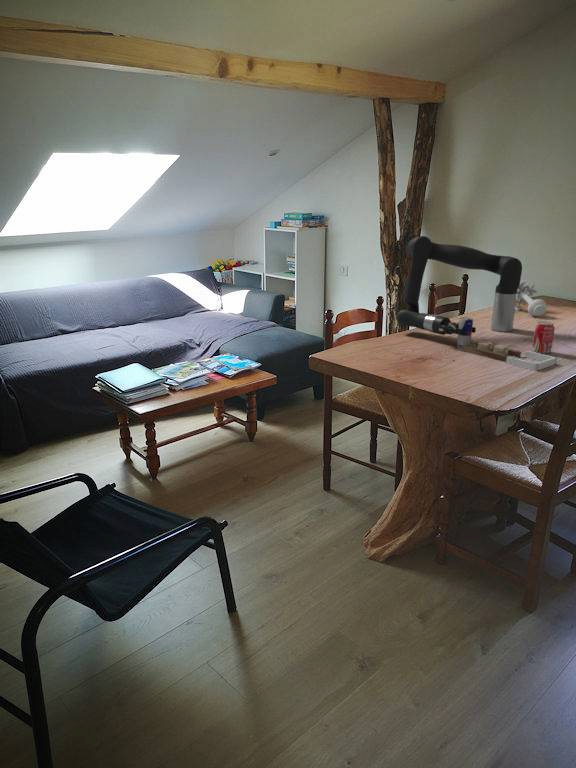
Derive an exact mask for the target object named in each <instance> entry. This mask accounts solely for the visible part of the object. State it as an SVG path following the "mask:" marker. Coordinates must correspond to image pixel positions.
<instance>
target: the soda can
mask: <svg viewBox="0 0 576 768" xmlns="http://www.w3.org/2000/svg"><path fill="white" fill-rule="evenodd" d="M533 334H534V335H533V340H532V352H534V351H535V352H536V353H542V354H544V355H546V354H545V353H547V354H549V353H551V352H552V347H553V343H554V342H553V341H554V335H555V326H554V322H551V321H543V320H542V321H538V322H537V324H536V326H535V329H534V333H533Z"/></svg>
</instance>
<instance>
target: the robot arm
mask: <svg viewBox="0 0 576 768" xmlns="http://www.w3.org/2000/svg"><path fill="white" fill-rule="evenodd" d="M406 248H407V249H406V250H407V253H408V254H409V255H410V256H411V257H412V258H411V259H412V261H411V267H410V270H409V274H408V277H407V279H406V282H405V285H404V291H403V296H402V302H403V304H405V305H406V309H401V310H399V311H398V312H397V313H396V317H395V319H396V322H397V323H398V324H399V325H401V326H406V327H411V328H416V329H419V330H423V331H426V332H427V331H428V332H431V333H434V334H439V335H443V336H444V335H449V336H450V335H458V334H459V335H465V330H463V329H459V321H457V322H455V321H451V319H450V318H449V317H447V316H442V315H438V314H430V313H424V312H420V304H419V300H420V296H421V295H420V294H421V290H422V284H423V278H424V274H425V269H426V267H427V263H428V261H429V260H433V261H436V262H440V263H443V264H446V265H449V266H453V267H456V268H457V267H458V268H462V269H467V270H479V271H480V270H483V271H487V272H490V273H493V274H497V275H499V276H500V278H499V282H498V284H497V285H496V286H495V291H494V301H493V309H492V314H491V325H490V329H491V330H493V331H495V332H503V333H505V332H511V331H512V330H513V328H514V322H515V313H516V309H515V302H516V299H517V295H518V294H517V290H519V289H518V288H519V285H520V282H521V279H522V273H523V265H522V262H521V261H520V259H519V258H516V257H513V256H509V255H496V254H491V253H486V252H484V251H481V250H479V249H476V248H473V247H468V246H464V245H460V244H459V245H458V244H443V243H442V244H441V243H436V242H434V241H433V242H432V241H431V239H430V238H429V237H428V236H424V235H421V236H417V237H414V238H412V239H410V240H409V242H408V243H407V246H406ZM476 328H477V327H474V326H472V334H474V333H476V332H477V329H476Z"/></svg>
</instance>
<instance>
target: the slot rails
mask: <svg viewBox="0 0 576 768" xmlns="http://www.w3.org/2000/svg"><path fill="white" fill-rule="evenodd" d="M479 342H480V341H478V342H476V343H475V347H474V346H471V345H470V346H463V348H462V349H461V350H462V352H465V353H469V354H473V355H477V356H480V357H484V356H485V357H486V358H488V359H493V360H496V361H500V360H501V362H504V361H505V362H506V359H507V357H508V356H509V355H511V356H510V357H513V356H515V357H514V358H517V357H518V358H521V357H520V356H522V351H519V350H514V349H511V348H508V356H507V355H503V354H499V353H495V352H493V348H494V346H495V345H494V344H493V346H492V352H491V351H487V350H483V349H479V348H478V343H479Z"/></svg>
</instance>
